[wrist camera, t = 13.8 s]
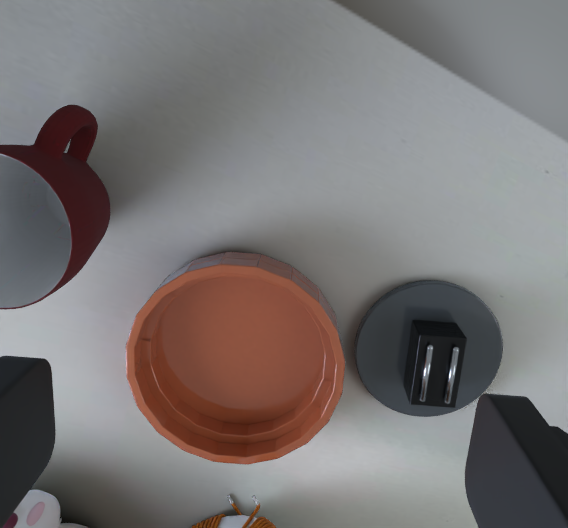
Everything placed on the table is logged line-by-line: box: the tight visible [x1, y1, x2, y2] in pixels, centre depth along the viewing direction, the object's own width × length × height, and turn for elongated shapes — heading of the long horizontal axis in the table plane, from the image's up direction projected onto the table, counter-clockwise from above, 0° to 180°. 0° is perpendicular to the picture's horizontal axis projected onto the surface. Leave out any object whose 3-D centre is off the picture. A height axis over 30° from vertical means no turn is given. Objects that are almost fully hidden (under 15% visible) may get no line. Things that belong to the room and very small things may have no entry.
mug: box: [0, 105, 110, 309], centre depth 31 cm, size 11×8×10 cm
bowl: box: [126, 252, 345, 464], centre depth 37 cm, size 14×14×4 cm
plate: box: [355, 281, 503, 417], centre depth 37 cm, size 10×10×1 cm
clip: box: [403, 320, 467, 408], centre depth 36 cm, size 5×3×3 cm, turn 176°
